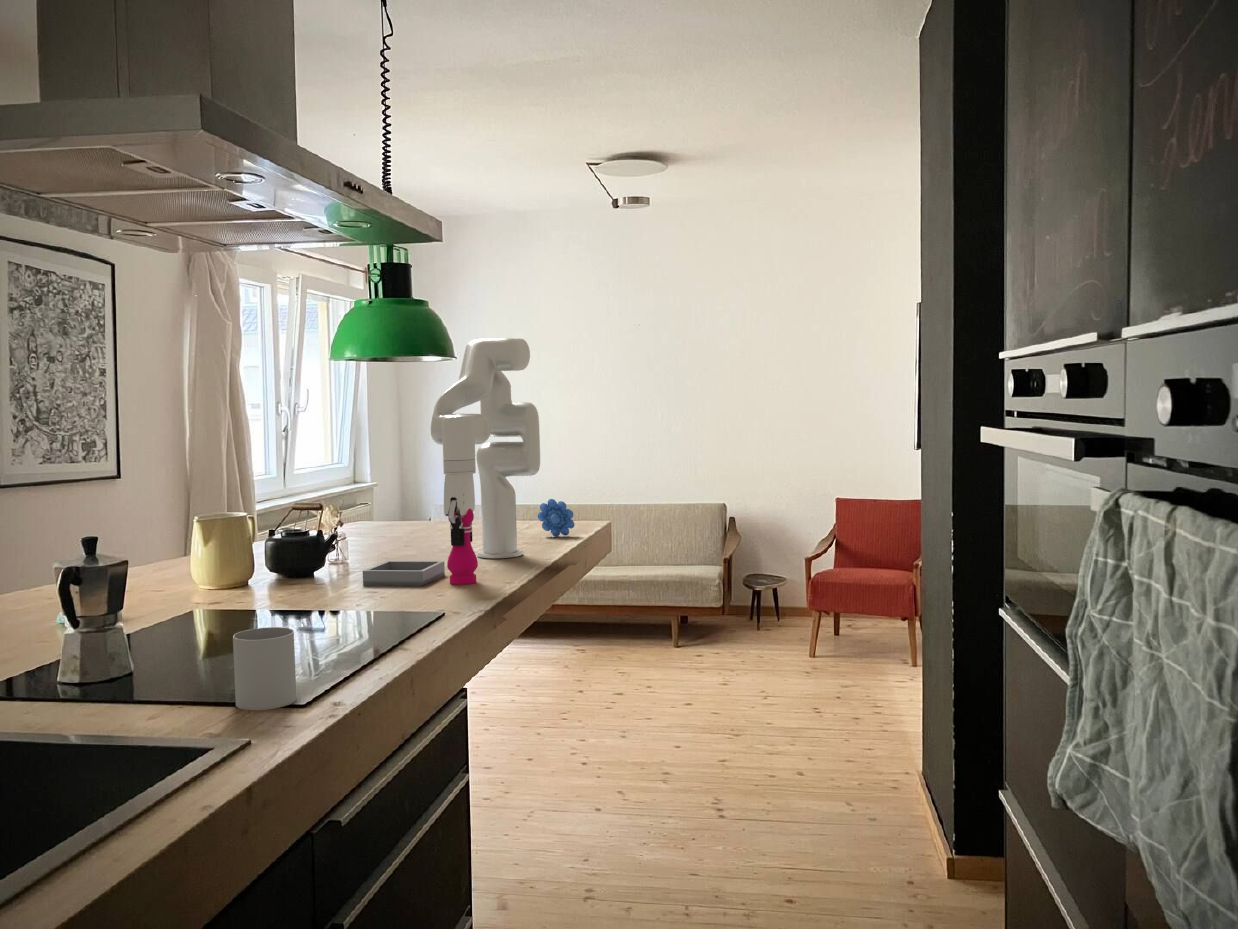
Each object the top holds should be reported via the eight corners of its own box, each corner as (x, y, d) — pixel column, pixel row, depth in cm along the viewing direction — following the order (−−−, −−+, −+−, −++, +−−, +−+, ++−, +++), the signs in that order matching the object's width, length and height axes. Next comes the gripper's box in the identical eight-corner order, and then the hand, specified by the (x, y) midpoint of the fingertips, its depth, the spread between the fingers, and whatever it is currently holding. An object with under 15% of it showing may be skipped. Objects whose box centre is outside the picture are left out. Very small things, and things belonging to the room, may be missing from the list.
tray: (387, 574, 259) (387, 560, 259) (444, 575, 257) (444, 561, 257) (363, 585, 245) (362, 570, 244) (423, 586, 242) (423, 571, 242)
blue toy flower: (536, 538, 322) (535, 500, 321) (539, 535, 328) (538, 498, 328) (573, 538, 321) (572, 499, 320) (575, 535, 328) (574, 497, 327)
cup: (291, 690, 155) (288, 624, 155) (302, 704, 148) (299, 635, 148) (231, 699, 151) (228, 631, 151) (240, 713, 144) (237, 643, 144)
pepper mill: (481, 579, 249) (479, 497, 248) (474, 585, 242) (471, 500, 240) (452, 580, 250) (449, 497, 248) (444, 585, 242) (441, 500, 241)
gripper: (455, 465, 253) (458, 539, 254) (431, 470, 236) (434, 549, 237) (485, 465, 252) (487, 539, 253) (463, 469, 235) (465, 549, 236)
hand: (461, 543), depth 245 cm, fingers closed on pepper mill, 5 cm apart
